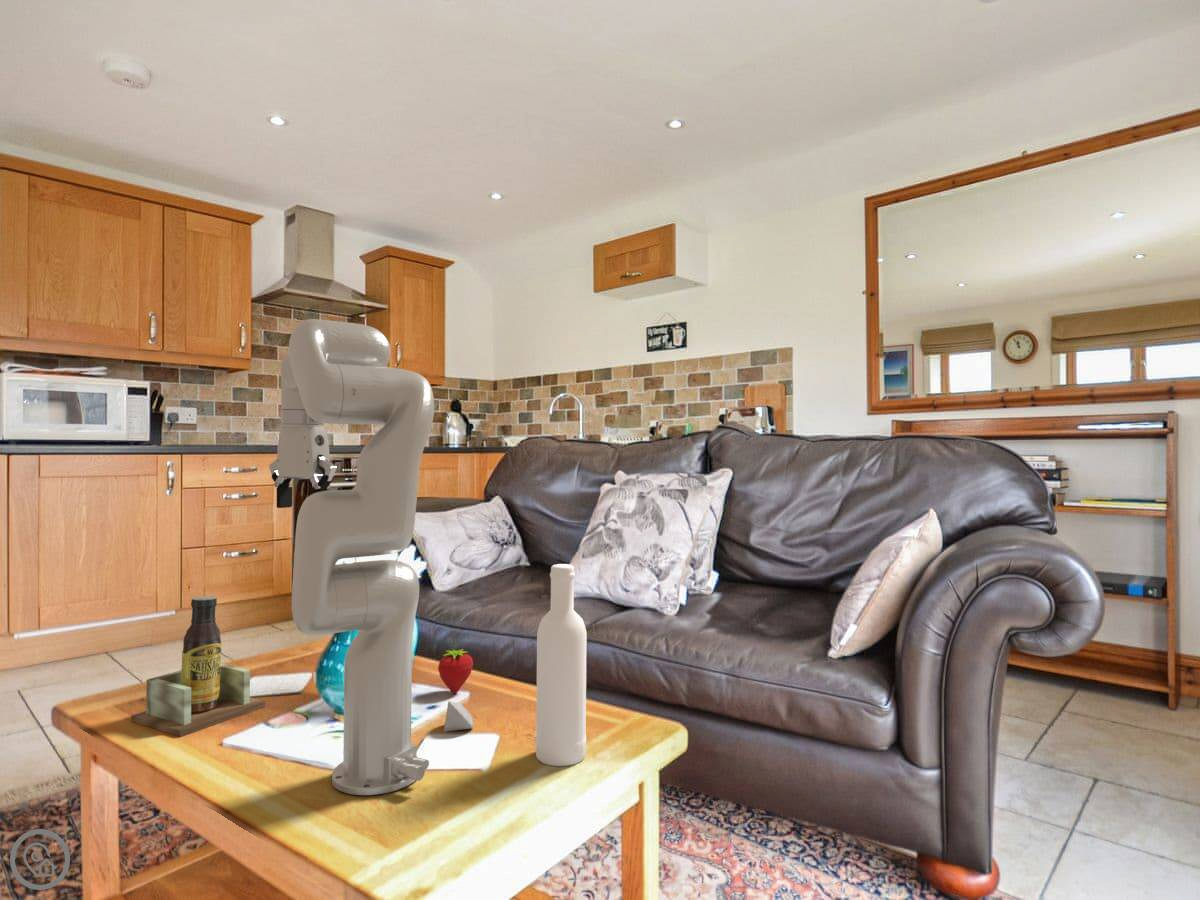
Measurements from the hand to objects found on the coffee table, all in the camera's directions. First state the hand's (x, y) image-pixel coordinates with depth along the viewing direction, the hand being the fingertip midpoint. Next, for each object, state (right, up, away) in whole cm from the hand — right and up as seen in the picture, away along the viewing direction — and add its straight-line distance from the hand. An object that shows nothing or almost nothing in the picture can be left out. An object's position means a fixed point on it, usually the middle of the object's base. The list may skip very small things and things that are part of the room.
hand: (301, 508), depth 139 cm
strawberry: (+29, -37, +3) cm, 47 cm away
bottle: (+52, -37, -26) cm, 69 cm away
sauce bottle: (-14, -35, -10) cm, 39 cm away
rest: (-14, -36, -10) cm, 40 cm away
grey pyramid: (+33, -37, -15) cm, 52 cm away
